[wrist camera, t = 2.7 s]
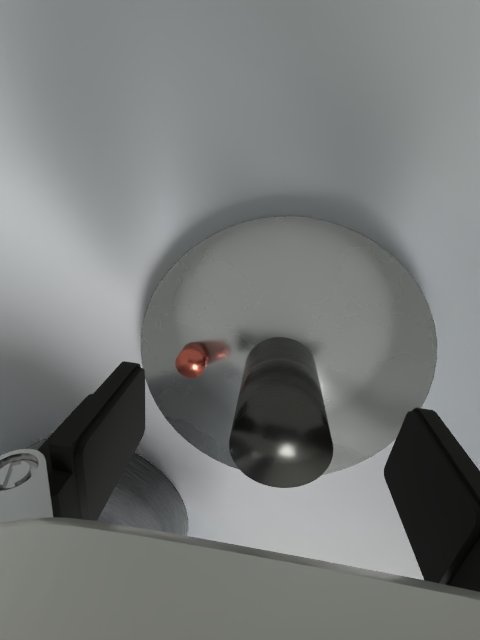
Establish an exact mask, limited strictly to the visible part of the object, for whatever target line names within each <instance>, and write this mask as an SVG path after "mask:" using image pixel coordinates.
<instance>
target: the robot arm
mask: <svg viewBox="0 0 480 640" xmlns="http://www.w3.org/2000/svg"><path fill="white" fill-rule="evenodd" d="M144 430H145V370H144V369H143V368H141V367H140V364H137V363H131V362H125V361H124V362H122V363H121V364H120V365H119V366H118V367H117V368H116V369H115V370H114V372H113V373H112V374H111V375H110V376H109V377H108V378H107V379H106V380H105V381H104V383H103V384H102V385H101V386H100V387H99V388H98V389H97V390H96V391H95V393H94V394H90V395H88V396H87V397H86V398H85V399H84V400H83V401H82V402H81V403H80V404H79V406H78V407H77V408H76V409H75V410H74V411H73V412H72V413H71V414H70V415H69V416H68V417H67V419H66V420H65V421H64V422H63V423H62V424H61V425H60V426H59V427H58V428H57V429H56V430H55V431H54V433H53V434H52V435H51V436H50V437H49V438H48V439H47V440H46V441H45V442H44V443H43V444H42V446H41V447H40V448H39V449H38V450H34V449H19V450H14V451H10V452H8V453H5V454H3V455H1V456H0V640H480V471H479V470H478V468H477V467H476V466H475V464H474V463H473V462H472V460H471V459H470V458H469V456H468V455H467V453H466V452H465V451H464V449H463V448H462V447H461V445H460V444H459V443H458V441H457V440H456V439H455V437H454V436H453V435H452V433H451V432H450V431H449V429H448V428H447V427H446V425H445V424H444V423H443V421H442V420H441V418H440V417H439V416H438V414H437V413H436V412H435V411H433V410H428V409H421V408H414V409H413V410H412V411H408V412H407V414H406V416H405V419H404V421H403V424H402V426H401V429H400V431H399V433H398V436H397V438H396V441H395V443H394V446H393V448H392V451H391V453H390V455H389V458H388V460H387V463H386V465H385V468H384V477H385V480H386V483H387V485H388V488H389V490H390V493H391V495H392V498H393V500H394V503H395V506H396V508H397V511H398V513H399V516H400V518H401V521H402V524H403V526H404V529H405V531H406V534H407V536H408V539H409V541H410V544H411V547H412V549H413V552H414V554H415V557H416V559H417V562H418V565H419V567H420V570H421V572H422V575H423V577H424V580H419V579H414V578H409V577H404V576H398V575H393V574H388V573H383V572H378V571H372V570H367V569H362V568H357V567H351V566H346V565H341V564H336V563H330V562H325V561H320V560H314V559H309V558H303V557H298V556H293V555H287V554H282V553H276V552H271V551H266V550H260V549H255V548H249V547H244V546H238V545H233V544H227V543H222V542H216V541H211V540H205V539H200V538H194V537H188V536H183V535H177V534H172V533H166V532H160V531H155V530H149V529H143V528H137V527H131V526H124V525H118V524H112V523H106V522H99V521H97V520H98V518H99V516H100V514H101V513H102V511H103V509H104V507H105V505H106V503H107V501H108V500H109V498H110V496H111V494H112V492H113V490H114V489H115V487H116V485H117V483H118V481H119V479H120V477H121V476H122V474H123V472H124V470H125V468H126V466H127V465H128V463H129V461H130V459H131V457H132V455H133V453H134V452H135V450H136V448H137V446H138V444H139V442H140V441H141V439H142V437H143V434H144Z"/></svg>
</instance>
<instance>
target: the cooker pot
mask: <svg viewBox="0 0 480 640" xmlns="http://www.w3.org/2000/svg"><path fill="white" fill-rule="evenodd" d="M46 440H47V439H45V440H42V441H40V442H37V443H35V444H33V445H32V446H30V447H28V448H27V449H34V450H38V449H39V448H40V447H41V446H42V444H43V443H44V442H45V441H46ZM97 521H99V522H106V523H112V524H118V525H124V526H131V527H137V528H143V529H149V530H155V531H160V532H166V533H172V534H177V535H183V536H187V532H188V517H187V512H186V509H185V506H184V503H183V501H182V499H181V497H180V495H179V494H178V492H177V491H176V489H175V488H174V486H173V485H172V484H171V482H170V481H169V480H168V479H167V478H166V477H165V476H164V475H163V474H162V473H161V472H160V471H159V470H158V469H156V468H155V467H154V466H153V465H152V464H150V463H149V462H147V461H146V460H144V459H143V458H141V457H140V456H138V455H136V454H135V453H133V455H132V457H131V459H130V461H129V463H128V465H127V466H126V468H125V470H124V472H123V474H122V476H121V477H120V479H119V481H118V483H117V485H116V487H115V489H114V490H113V492H112V494H111V496H110V498H109V500H108V501H107V503H106V505H105V507H104V509H103V511H102V513H101V514H100V516H99V518H98V520H97Z"/></svg>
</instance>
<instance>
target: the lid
mask: <svg viewBox="0 0 480 640" xmlns="http://www.w3.org/2000/svg"><path fill="white" fill-rule="evenodd" d="M141 356H142V365H143V369H144V370H145V378H146V381H147V384H148V387H149V390H150V392H151V394H152V396H153V398H154V400H155V402H156V404H157V406H158V408H159V409H160V411H161V412H162V414H163V415H164V416H165V418H166V419H167V421H168V422H169V423H170V424H171V425H172V426H173V428H174V429H175V430H176V431H177V432H178V433H179V434H180V435H181V436H182V437H184V438H185V439H186V440H187V441H188V442H189V443H191V444H192V445H193V446H195V447H196V448H197V449H199V450H200V451H201V452H203V453H205V454H207V455H208V456H210V457H212V458H213V459H215V460H217V461H220V462H222V463H224V464H226V465H228V466H231V467H234V468H237V469H240V470H241V471H242V472H243V473H244V474H245V475H246V476H248V477H249V478H251V479H253V480H254V481H257V482H259V483H261V484H264V485H268V486H272V487H279V488H290V487H297V486H301V485H305V484H307V483H310V482H312V481H314V480H315V479H317V478H318V477H320V476H321V475H323V474H327V473H331V472H335V471H339V470H342V469H345V468H347V467H350V466H353V465H355V464H358V463H360V462H362V461H364V460H365V459H367V458H369V457H371V456H373V455H374V454H376V453H378V452H379V451H381V450H382V449H384V448H385V447H386V446H388V445H389V444H390V443H391V442H392V441H394V440H395V439H396V438H397V436H398V433H399V431H400V429H401V426H402V424H403V421H404V419H405V416H406V414H407V412H408V411H412V410H413V409H414V408H421V407H422V405H423V403H424V401H425V399H426V397H427V395H428V393H429V390H430V387H431V384H432V381H433V378H434V372H435V366H436V360H437V338H436V332H435V325H434V321H433V318H432V315H431V311H430V308H429V305H428V303H427V301H426V299H425V297H424V295H423V293H422V291H421V289H420V287H419V286H418V284H417V283H416V282H415V280H414V279H413V277H412V276H411V275H410V273H409V272H408V271H407V269H406V268H405V267H404V266H403V265H402V264H401V263H400V262H399V261H398V260H397V259H396V258H395V257H394V256H393V255H392V254H390V253H389V252H388V251H386V250H385V249H383V248H382V247H381V246H379V245H378V244H377V243H375V242H374V241H372V240H370V239H368V238H366V237H364V236H362V235H361V234H359V233H357V232H355V231H353V230H350V229H348V228H345V227H342V226H339V225H337V224H334V223H331V222H328V221H323V220H318V219H313V218H308V217H294V216H279V217H266V218H260V219H255V220H251V221H246V222H242V223H240V224H237V225H234V226H231V227H229V228H226V229H224V230H222V231H220V232H218V233H216V234H214V235H212V236H210V237H208V238H206V239H205V240H203V241H201V242H200V243H198V244H197V245H196V246H194V247H193V248H192V249H190V250H189V251H187V252H186V253H185V254H184V255H183V256H182V257H181V258H180V259H179V260H178V261H177V262H176V263H175V264H174V265H173V266H172V267H171V268H170V269H169V271H168V272H167V273H166V274H165V276H164V277H163V278H162V280H161V281H160V283H159V285H158V286H157V288H156V290H155V292H154V293H153V295H152V297H151V300H150V303H149V305H148V308H147V310H146V313H145V318H144V322H143V327H142V335H141Z"/></svg>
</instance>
